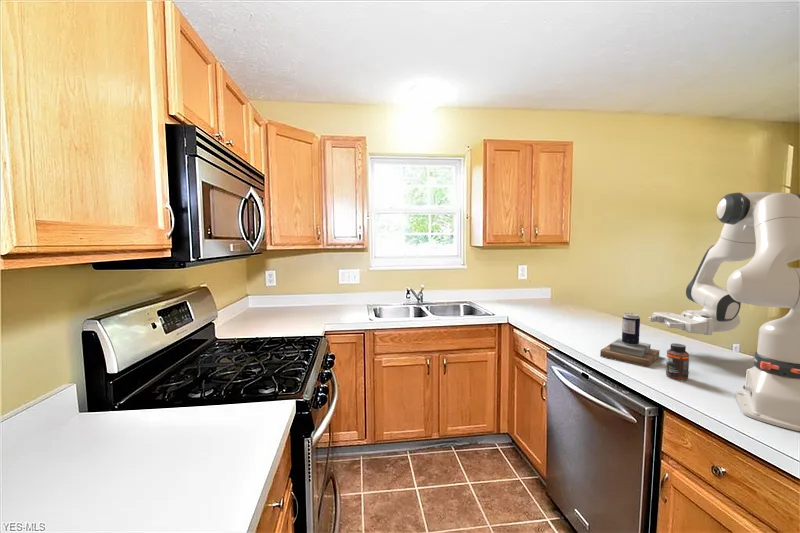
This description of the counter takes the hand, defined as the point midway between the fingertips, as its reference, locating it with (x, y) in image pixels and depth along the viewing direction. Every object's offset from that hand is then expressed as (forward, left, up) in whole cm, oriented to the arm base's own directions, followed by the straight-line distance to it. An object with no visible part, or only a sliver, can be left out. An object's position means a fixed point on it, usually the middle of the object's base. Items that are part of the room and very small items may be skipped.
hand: (658, 322), depth 137 cm
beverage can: (-8, +7, -9) cm, 14 cm away
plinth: (-9, +7, -13) cm, 18 cm away
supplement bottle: (-21, -10, -14) cm, 27 cm away
